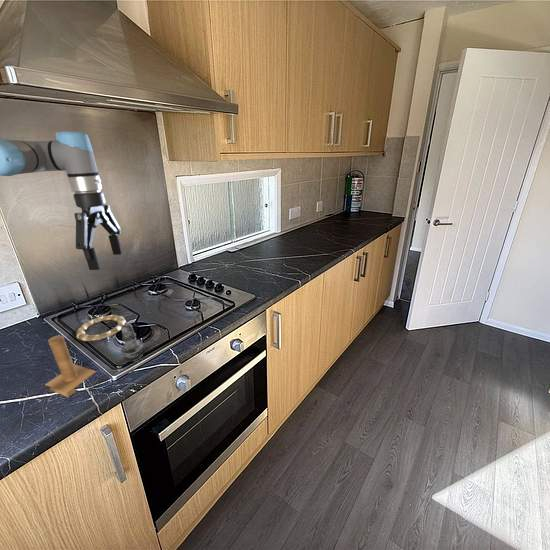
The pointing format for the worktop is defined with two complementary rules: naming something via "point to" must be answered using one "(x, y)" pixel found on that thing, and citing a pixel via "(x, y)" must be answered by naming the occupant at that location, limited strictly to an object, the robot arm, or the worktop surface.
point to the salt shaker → (131, 343)
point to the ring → (83, 336)
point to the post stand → (66, 369)
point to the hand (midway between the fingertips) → (107, 261)
